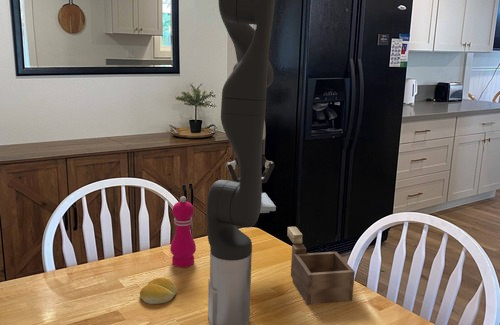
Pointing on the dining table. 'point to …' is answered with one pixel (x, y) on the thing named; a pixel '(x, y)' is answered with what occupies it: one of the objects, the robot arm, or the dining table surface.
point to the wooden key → (294, 235)
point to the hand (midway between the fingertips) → (249, 197)
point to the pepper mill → (183, 234)
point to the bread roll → (158, 291)
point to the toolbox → (321, 276)
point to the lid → (266, 204)
